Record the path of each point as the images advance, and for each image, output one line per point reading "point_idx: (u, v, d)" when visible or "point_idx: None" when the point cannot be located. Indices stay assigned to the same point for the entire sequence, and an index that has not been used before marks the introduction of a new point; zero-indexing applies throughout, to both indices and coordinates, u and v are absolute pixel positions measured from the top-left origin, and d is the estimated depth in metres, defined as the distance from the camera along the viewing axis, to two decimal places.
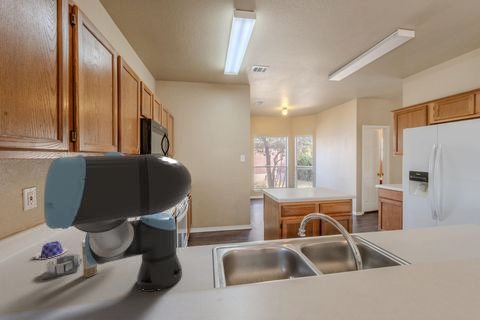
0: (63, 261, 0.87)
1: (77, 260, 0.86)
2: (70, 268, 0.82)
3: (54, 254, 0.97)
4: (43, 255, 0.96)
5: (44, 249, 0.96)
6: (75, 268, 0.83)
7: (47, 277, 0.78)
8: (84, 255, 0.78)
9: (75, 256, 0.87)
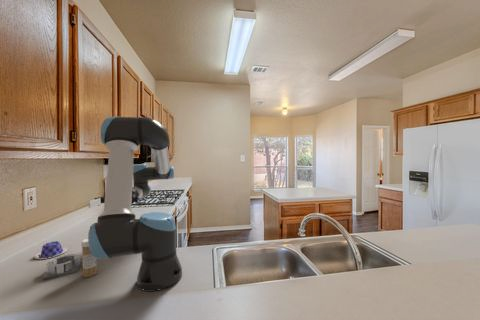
0: (63, 261, 0.87)
1: (77, 260, 0.86)
2: (70, 268, 0.82)
3: (54, 254, 0.97)
4: (43, 255, 0.96)
5: (44, 249, 0.96)
6: (75, 268, 0.83)
7: (47, 277, 0.78)
8: (84, 255, 0.78)
9: (75, 256, 0.87)
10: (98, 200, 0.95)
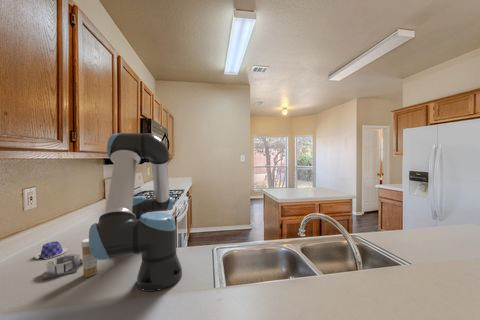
0: (63, 261, 0.87)
1: (77, 260, 0.86)
2: (70, 268, 0.82)
3: (54, 254, 0.97)
4: (43, 255, 0.96)
5: (44, 249, 0.96)
6: (75, 268, 0.83)
7: (47, 277, 0.78)
8: (84, 255, 0.78)
9: (75, 256, 0.87)
10: None
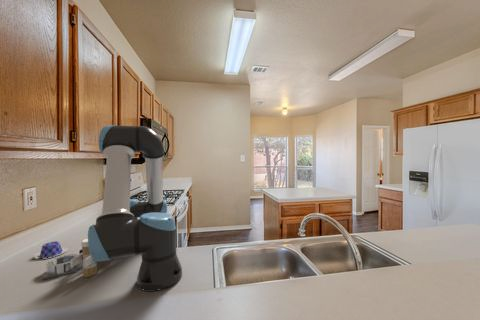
0: (63, 261, 0.87)
1: None
2: (70, 268, 0.82)
3: (53, 254, 0.97)
4: (42, 255, 0.96)
5: (43, 249, 0.96)
6: (75, 268, 0.83)
7: (47, 277, 0.78)
8: (84, 255, 0.78)
9: (75, 256, 0.87)
10: None
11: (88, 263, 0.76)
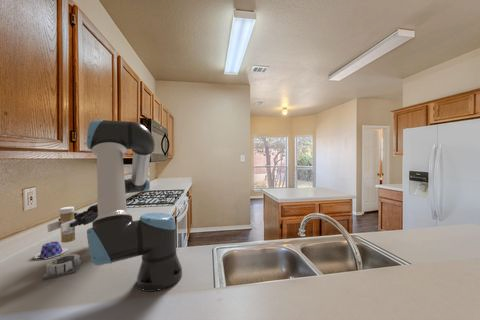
0: (63, 261, 0.87)
1: (77, 260, 0.86)
2: (70, 268, 0.82)
3: (53, 254, 0.97)
4: (42, 255, 0.96)
5: (43, 249, 0.96)
6: (75, 268, 0.83)
7: (47, 277, 0.78)
8: (62, 222, 0.82)
9: (75, 256, 0.87)
10: None
11: (64, 228, 0.80)
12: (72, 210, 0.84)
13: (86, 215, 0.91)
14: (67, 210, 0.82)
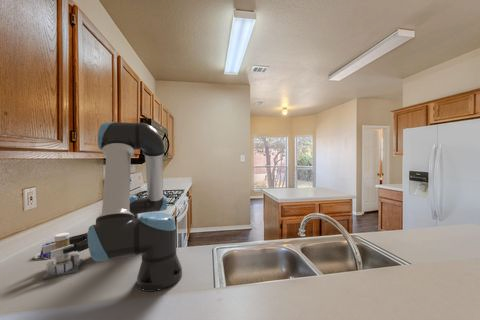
0: None
1: (77, 260, 0.86)
2: (70, 268, 0.82)
3: None
4: (42, 255, 0.96)
5: None
6: (75, 268, 0.83)
7: (47, 277, 0.78)
8: (55, 248, 0.82)
9: (75, 256, 0.87)
10: None
11: (55, 255, 0.79)
12: (64, 238, 0.83)
13: (87, 239, 0.89)
14: (58, 238, 0.82)
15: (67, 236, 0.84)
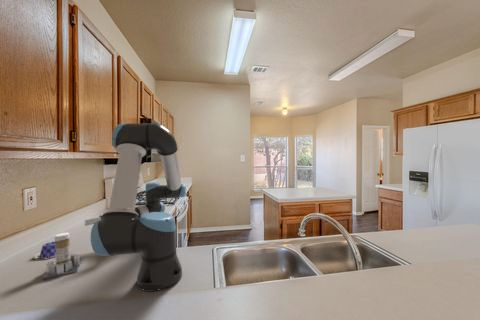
0: None
1: (77, 260, 0.86)
2: (70, 268, 0.82)
3: (52, 255, 0.96)
4: (41, 255, 0.96)
5: (42, 249, 0.96)
6: (75, 268, 0.83)
7: (47, 277, 0.78)
8: None
9: (75, 256, 0.87)
10: (97, 219, 1.01)
11: None
12: (64, 237, 0.83)
13: None
14: (59, 237, 0.82)
15: (67, 236, 0.84)
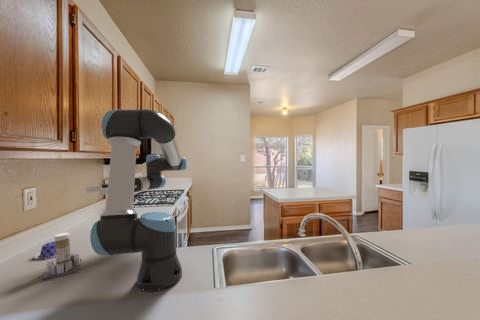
0: None
1: (77, 260, 0.86)
2: (70, 268, 0.82)
3: (51, 255, 0.96)
4: (41, 255, 0.96)
5: (42, 249, 0.96)
6: (75, 268, 0.83)
7: (47, 277, 0.78)
8: None
9: (75, 256, 0.87)
10: (98, 187, 1.01)
11: (104, 192, 0.90)
12: (64, 237, 0.83)
13: None
14: (59, 238, 0.82)
15: (67, 236, 0.84)
